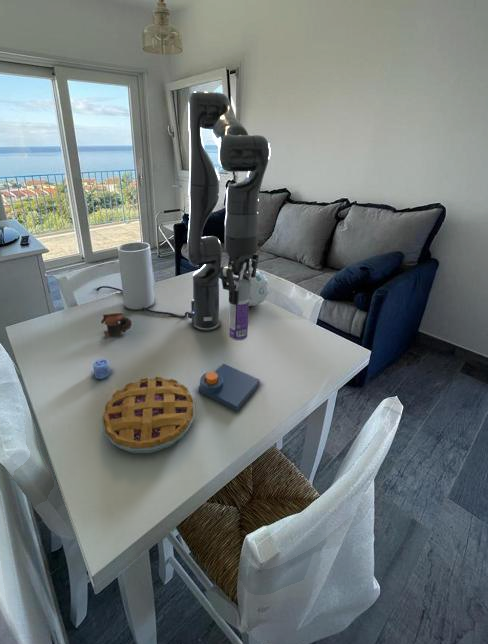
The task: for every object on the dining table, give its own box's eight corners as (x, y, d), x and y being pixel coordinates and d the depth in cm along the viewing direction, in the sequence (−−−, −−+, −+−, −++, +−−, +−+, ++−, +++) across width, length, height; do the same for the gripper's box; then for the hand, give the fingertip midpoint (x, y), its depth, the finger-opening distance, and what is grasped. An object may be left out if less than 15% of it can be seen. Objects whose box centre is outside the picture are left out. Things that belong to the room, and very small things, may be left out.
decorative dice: (94, 371, 94) (93, 360, 92) (109, 368, 95) (107, 357, 93) (95, 380, 90) (93, 369, 89) (110, 377, 91) (108, 365, 90)
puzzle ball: (252, 293, 142) (254, 261, 137) (275, 306, 130) (278, 272, 125) (224, 301, 135) (224, 268, 130) (245, 316, 123) (247, 280, 118)
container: (249, 332, 83) (251, 279, 77) (245, 342, 79) (247, 287, 73) (231, 329, 84) (233, 277, 79) (226, 338, 80) (227, 284, 75)
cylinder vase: (126, 297, 139) (119, 242, 130) (155, 296, 140) (150, 241, 131) (122, 311, 128) (115, 252, 118) (153, 309, 129) (149, 250, 119)
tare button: (203, 381, 85) (203, 376, 84) (210, 375, 87) (210, 370, 86) (213, 386, 83) (213, 381, 82) (219, 379, 85) (219, 374, 85)
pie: (203, 450, 69) (203, 433, 67) (98, 470, 65) (95, 453, 63) (188, 382, 89) (187, 367, 87) (107, 394, 85) (104, 379, 83)
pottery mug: (96, 339, 110) (94, 315, 111) (113, 336, 119) (111, 314, 120) (125, 336, 106) (123, 311, 108) (140, 333, 115) (139, 310, 116)
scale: (195, 391, 86) (195, 381, 84) (221, 367, 95) (222, 357, 94) (235, 413, 79) (235, 402, 77) (259, 384, 88) (260, 374, 87)
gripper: (243, 223, 79) (241, 286, 85) (209, 236, 68) (209, 306, 75) (270, 227, 75) (266, 293, 81) (239, 241, 64) (236, 316, 70)
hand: (239, 299), depth 78 cm, fingers closed on container, 4 cm apart
